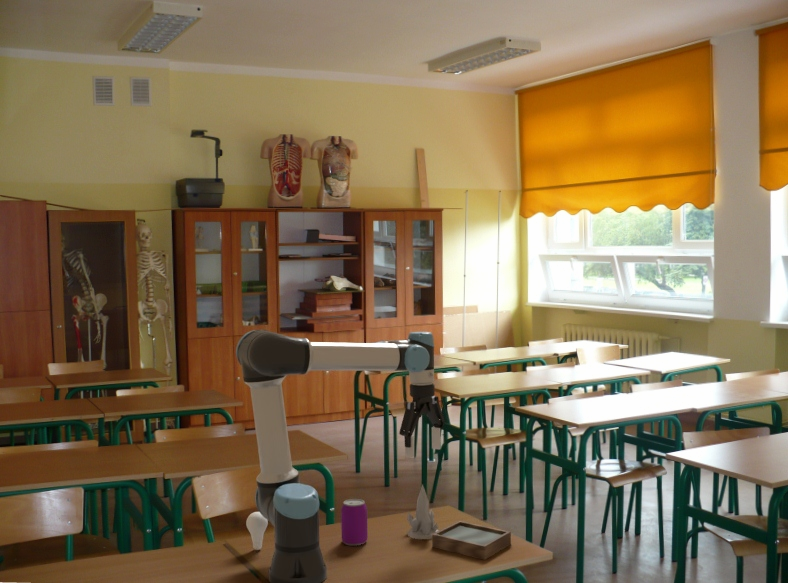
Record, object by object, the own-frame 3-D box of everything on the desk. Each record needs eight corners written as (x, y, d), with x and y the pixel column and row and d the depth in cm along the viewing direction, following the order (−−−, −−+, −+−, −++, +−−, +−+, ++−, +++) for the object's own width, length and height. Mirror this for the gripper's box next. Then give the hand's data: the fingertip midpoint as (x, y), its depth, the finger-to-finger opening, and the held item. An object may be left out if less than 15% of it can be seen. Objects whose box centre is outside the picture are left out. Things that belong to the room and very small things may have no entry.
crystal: (409, 543, 232) (408, 492, 232) (405, 528, 245) (404, 480, 245) (443, 541, 233) (442, 491, 232) (437, 526, 246) (436, 479, 246)
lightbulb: (242, 551, 227) (241, 513, 227) (255, 544, 232) (254, 507, 232) (259, 555, 224) (258, 516, 224) (272, 548, 230) (271, 510, 229)
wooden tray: (432, 546, 228) (432, 534, 228) (459, 532, 240) (459, 520, 240) (484, 559, 218) (484, 546, 217) (510, 544, 229) (510, 531, 229)
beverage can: (342, 547, 229) (341, 506, 229) (341, 538, 237) (340, 498, 237) (368, 546, 230) (367, 505, 230) (366, 537, 238) (366, 497, 237)
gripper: (407, 389, 225) (408, 463, 226) (455, 378, 245) (456, 446, 245) (386, 387, 230) (388, 460, 230) (435, 377, 249) (436, 443, 250)
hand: (423, 453), depth 238 cm, fingers open, 13 cm apart
